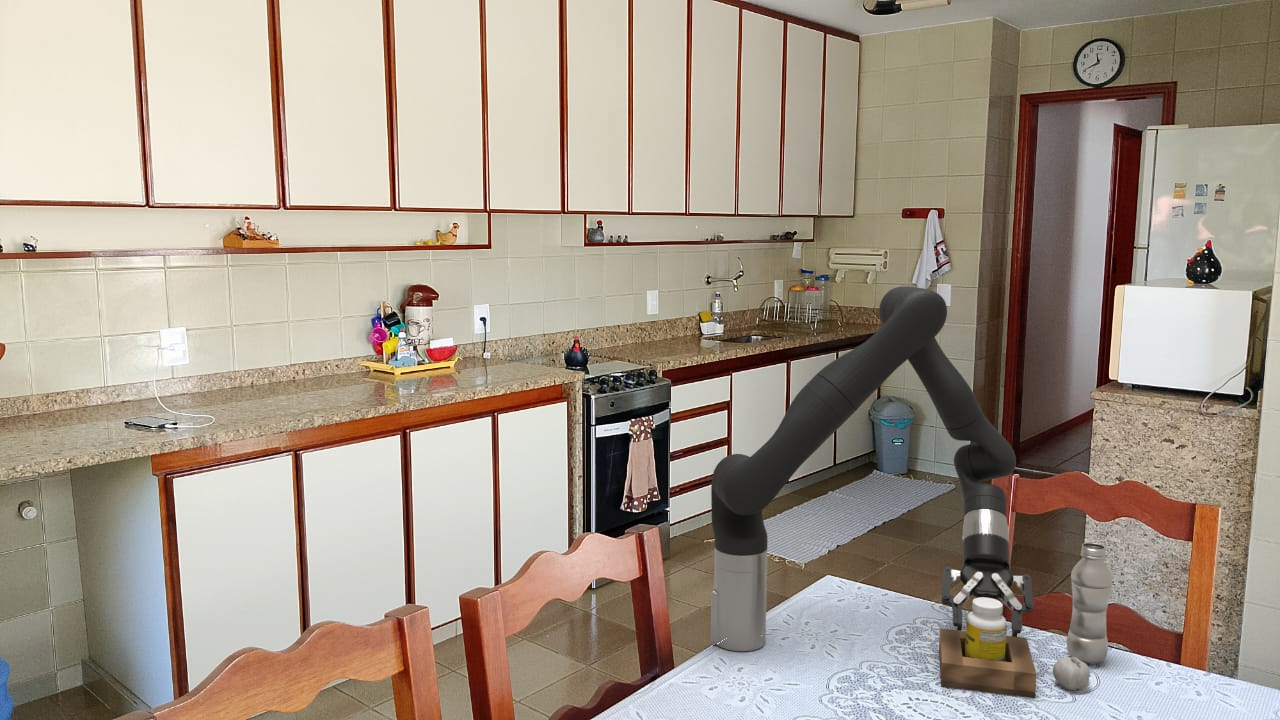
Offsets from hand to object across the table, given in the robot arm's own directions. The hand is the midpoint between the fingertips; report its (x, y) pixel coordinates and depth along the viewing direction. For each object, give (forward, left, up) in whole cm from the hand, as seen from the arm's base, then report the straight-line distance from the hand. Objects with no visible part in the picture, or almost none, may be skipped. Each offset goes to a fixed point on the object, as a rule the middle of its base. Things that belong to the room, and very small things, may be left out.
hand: (987, 631), depth 155 cm
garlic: (+13, 0, -8) cm, 15 cm away
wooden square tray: (0, +1, -8) cm, 8 cm away
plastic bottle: (+17, +11, -8) cm, 22 cm away
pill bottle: (0, +2, -7) cm, 7 cm away
